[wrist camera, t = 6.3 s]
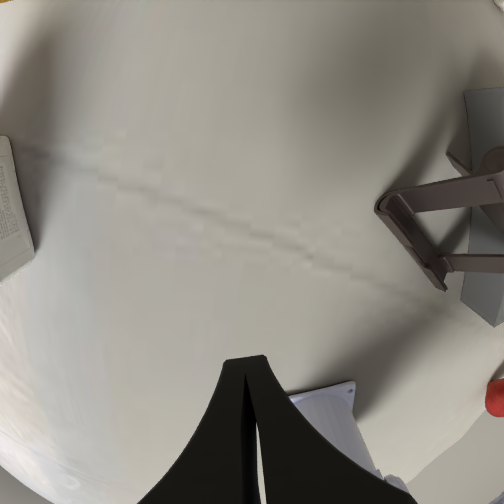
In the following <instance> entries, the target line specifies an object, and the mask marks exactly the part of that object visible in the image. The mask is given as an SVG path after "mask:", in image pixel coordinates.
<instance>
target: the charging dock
mask: <svg viewBox="0 0 504 504" xmlns="http://www.w3.org/2000/svg"><path fill="white" fill-rule="evenodd" d="M464 97H465V103H466V109H467V116H468V124H469V134H470V145H471V161H472V172H473V173H476V172H477V171H478V169H479V167H480V162H481V159H482V157H483V156H484V154H485V153H486V152H487V151H489V150H490V149H492V148H494V147H497V146H504V87H501V88H489V89H479V90H470V91H464ZM468 254H504V236H503V235H502V233H501V232H500V231H499V229H498V228H497V227H496V226H495V225H494V223H493V222H492V221H491V220H490V218H489V217H488V216H487V215H486V214H485V213H484V211H483V210H482V209H481V208H480V207H479V206H478V205H477V206H472V211H471V228H470V239H469V249H468ZM460 300H461V301H462V302H463V303H464V304H466V305H467V306H468V307H469V308H471V309H472V310H473V311H474V312H476V313H477V314H478V315H479V316H481V317H482V318H483V319H484V320H485V321H487V322H488V323H489V324H490V325H491V326H493V327H496V326H497V325H499V324H501V323H503V322H504V274H501V273H483V272H465V278H464V284H463V289H462V294H461V299H460Z"/></svg>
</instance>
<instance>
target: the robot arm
mask: <svg viewBox="0 0 504 504" xmlns="http://www.w3.org/2000/svg"><path fill="white" fill-rule="evenodd" d="M355 389H356V384H355V382H354V381H349V382H345V383H342V384H338V385H334V386H330V387H326V388H322V389H318V390H314V391H310V392H305V393H301V394H296V395H291V396H288V395H287V394H286V393H285V391H284V390H283V388H282V387H281V385H280V384H279V382H278V380H277V379H276V377H275V375H274V373H273V372H272V370H271V368H270V365H269V363H268V360H267V357H266V356H264V355H257V356H250V357H243V358H236V359H229V360H226V361H225V362H224V363H223V367H222V371H221V374H220V377H219V380H218V383H217V386H216V389H215V391H214V393H213V396H212V398H211V401H210V403H209V405H208V407H207V410H206V412H205V414H204V416H203V417H202V419H201V421H200V423H199V425H198V427H197V429H196V431H195V433H194V434H193V436H192V438H191V439H190V441H189V442H188V444H187V446H186V447H185V449H184V450H183V452H182V453H181V455H180V456H179V457H178V459H177V460H176V461H175V463H174V464H173V465H172V467H171V468H170V469H169V470H168V472H167V473H166V474H165V475H164V476H163V478H162V479H161V480H160V481H159V482H158V483H157V484H156V485H155V486H154V487H153V488H152V489H151V490H150V491H149V492H148V493H147V494H146V495H145V496H144V497H143V498H142V499H141V500H140V501H139V502H138V503H137V504H261V500H260V493H259V486H258V474H257V435H256V423H257V427H258V431H259V439H260V447H261V456H262V466H263V475H264V484H265V494H266V504H418V503H417V502H416V501H415V499H414V498H413V497H412V496H411V495H410V493H409V491H408V489H407V487H406V485H405V484H404V482H403V481H402V479H401V478H400V477H396V476H393V475H391V474H390V475H387V476H385V477H384V480H383V477H382V475H381V473H380V470H379V469H377V470H376V468H375V466H374V463H373V461H372V459H371V456H370V454H369V451H368V449H367V447H366V444H365V442H364V440H363V438H362V435H361V433H360V431H359V428H358V426H357V424H356V421H355V419H354V417H353V415H352V410H353V403H354V396H355ZM489 504H504V491H503V492H502V493H501V495H499V496H498V497H497V498H496V499H494V500H493V501H492V502H491V503H489Z"/></svg>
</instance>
